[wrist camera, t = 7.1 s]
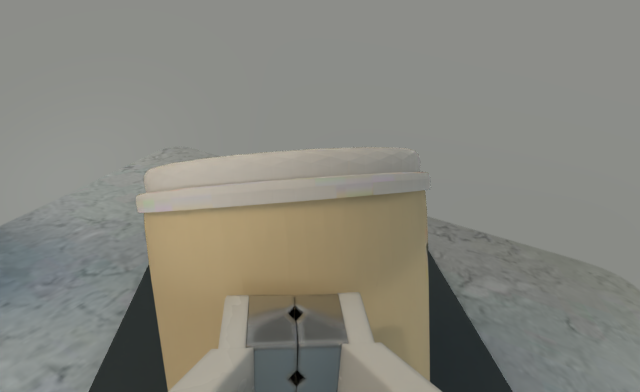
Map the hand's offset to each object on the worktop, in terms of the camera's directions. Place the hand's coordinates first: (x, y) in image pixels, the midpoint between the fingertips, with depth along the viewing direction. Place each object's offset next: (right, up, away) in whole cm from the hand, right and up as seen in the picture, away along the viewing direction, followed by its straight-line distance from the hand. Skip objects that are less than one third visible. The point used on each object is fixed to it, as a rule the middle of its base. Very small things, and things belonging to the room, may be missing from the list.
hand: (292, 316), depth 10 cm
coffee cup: (0, -8, +5) cm, 10 cm away
